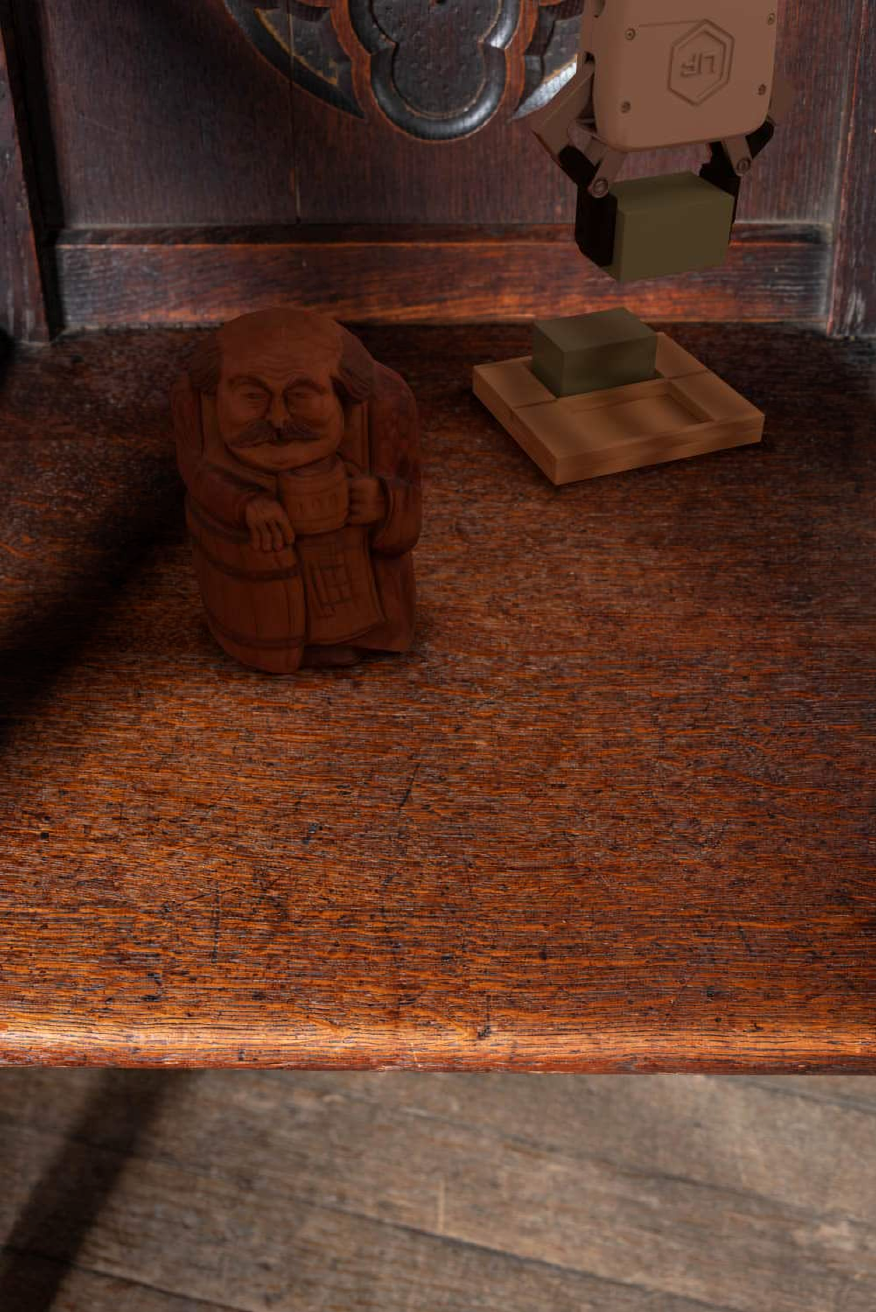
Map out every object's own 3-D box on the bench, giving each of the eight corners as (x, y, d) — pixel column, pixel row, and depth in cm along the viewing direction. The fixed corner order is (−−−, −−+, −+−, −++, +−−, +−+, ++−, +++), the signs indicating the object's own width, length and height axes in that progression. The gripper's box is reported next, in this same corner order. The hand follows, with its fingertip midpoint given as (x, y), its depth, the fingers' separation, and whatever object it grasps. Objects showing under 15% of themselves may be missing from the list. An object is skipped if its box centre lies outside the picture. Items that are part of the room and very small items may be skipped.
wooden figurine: (202, 684, 64) (147, 358, 53) (203, 610, 69) (153, 298, 58) (430, 662, 66) (424, 339, 54) (415, 591, 71) (407, 281, 59)
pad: (682, 237, 77) (690, 170, 75) (725, 265, 74) (735, 197, 71) (580, 253, 75) (584, 186, 73) (619, 284, 72) (625, 214, 69)
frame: (659, 356, 93) (666, 291, 90) (760, 441, 83) (772, 372, 80) (472, 391, 89) (472, 325, 86) (555, 486, 79) (559, 414, 76)
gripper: (564, -75, 58) (546, 295, 69) (879, -100, 63) (815, 249, 74) (499, -98, 63) (493, 248, 75) (793, -120, 68) (746, 208, 79)
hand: (653, 246), depth 74 cm, fingers closed on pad, 7 cm apart
